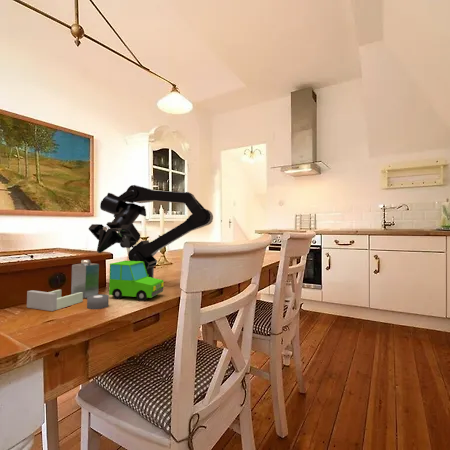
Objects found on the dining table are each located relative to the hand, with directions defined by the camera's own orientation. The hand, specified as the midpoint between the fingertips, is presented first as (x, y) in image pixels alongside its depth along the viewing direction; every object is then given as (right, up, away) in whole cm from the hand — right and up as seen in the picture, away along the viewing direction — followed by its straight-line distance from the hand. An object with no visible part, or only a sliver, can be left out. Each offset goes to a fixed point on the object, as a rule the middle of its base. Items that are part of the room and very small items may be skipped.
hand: (98, 252), depth 85 cm
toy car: (+14, -13, -5) cm, 19 cm away
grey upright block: (-2, -12, -5) cm, 13 cm away
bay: (-4, -12, -14) cm, 19 cm away
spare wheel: (+7, -13, -15) cm, 21 cm away
